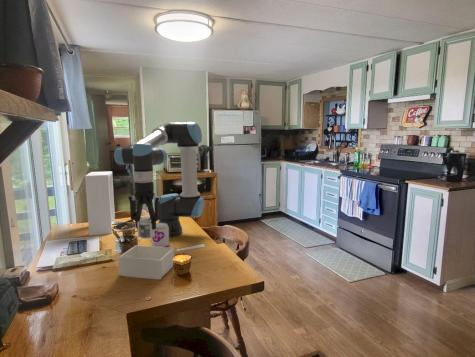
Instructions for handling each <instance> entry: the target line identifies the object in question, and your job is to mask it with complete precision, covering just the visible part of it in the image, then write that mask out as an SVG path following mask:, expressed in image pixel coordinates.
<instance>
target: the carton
mask: <svg viewBox="0 0 475 357" xmlns="http://www.w3.org/2000/svg"><path fill="white" fill-rule="evenodd" d="M169 247H170V246H169ZM169 247H154V246H152V245H140V244H139V245H138V244H136V245H134V246H133V247H131V248H130V249H128V250H127V251H125V252H124V253H122V254H121V255H119V256H120V257H117V258H118V275H119V277H126V278H127V277H128V278H136V279H148V280H149V279H150V280H158V279H159V281H161V280H162V277H163V276H164V275H165V274H168V272H170V270H171V269H173V267H174V266H173V261H172V259H173V258H174V259H175V247H170V248H169ZM122 257H134V258H147V259H133V258H122ZM149 259H158V260H149ZM165 276H166V275H165ZM165 276H164V277H165ZM164 277H163V278H164Z"/></svg>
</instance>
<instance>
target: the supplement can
mask: <svg viewBox="0 0 475 357" xmlns="http://www.w3.org/2000/svg"><path fill="white" fill-rule="evenodd" d="M150 239H151V240H150V241H151V246H154V247H169V248H171V247H170V237H169V227H168V225H167V224H166V223H159V222H156V229H155V236H154V237H152V238H150Z"/></svg>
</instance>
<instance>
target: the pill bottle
mask: <svg viewBox="0 0 475 357" xmlns="http://www.w3.org/2000/svg"><path fill="white" fill-rule="evenodd" d="M149 222H151V219H150V216H141V223H140V236H141V237H140V238H141V239H144V240H146V239H151V238H150V225H149Z"/></svg>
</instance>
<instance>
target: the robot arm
mask: <svg viewBox="0 0 475 357" xmlns="http://www.w3.org/2000/svg"><path fill="white" fill-rule="evenodd" d="M202 133H203V132H202V128H201V127H200V124H198V122H194V121H178V122H177V121H175V122H173V121H171V122H167V123H164V124H162V125H159V126H157V127H155V128H154V129H152V131H151V133H149V134H147V135H146V136H144V137H142V138H140V139H138V140H137V141H134V142H133V143H132V144H130V145H128V146H126V147H123V146H122V147H116V149H115V150H114V152H113V158H114V161H115V163H116V164H117V165H124V166H126V165H127V166H128V165H130V166H133V178H134V179H133V181H134V186H133V187H134V191H135V192H134V195H130V196H128V200H129V207H130V208H129V209H130V210H129V211H130V220H131V221H135V229H136V230H137V237H138V238H141V236H140V223H141V217H142V211H143V206H144V205H146V206H145V207H147V210H148V214H149V217H150V219H151V222H149V225H150V238H149V239H151V238H152V237H154V236H155V229H156V223H157V222H158V223H166V224H167V225H168V227H169V238H171V237H176V236H179V235H181V234H182V233H183V227H182V225H181V222H180V217H181V218H199V217H201V216H202V214H203V211H204V208H205V199H204V197H203V196H202V197H201V193H200V191H198V173H197V172H198V171H197V170H198V169H197V168H198V166H197V149H198V148H199V144H201V143H202V141H203V140H202V138H203V134H202ZM165 144H177V148H178V149H179V150H180V167H181V169H180V171H181V189H182V190H181V191H182V192H181V193H180V194H178V193H168V194H164V195H160V196H157V195H156V194H155V192H154V191H155V186H154V181H153V180H154V166H157V165H162V164H164V163H165V162H166V161H167V158H168V154H167V151H166V150H165V149H164V148H162V147H160V146H164V145H165ZM136 201H137V202H136ZM153 201H154V202H153ZM153 203H154V204H153Z"/></svg>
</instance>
